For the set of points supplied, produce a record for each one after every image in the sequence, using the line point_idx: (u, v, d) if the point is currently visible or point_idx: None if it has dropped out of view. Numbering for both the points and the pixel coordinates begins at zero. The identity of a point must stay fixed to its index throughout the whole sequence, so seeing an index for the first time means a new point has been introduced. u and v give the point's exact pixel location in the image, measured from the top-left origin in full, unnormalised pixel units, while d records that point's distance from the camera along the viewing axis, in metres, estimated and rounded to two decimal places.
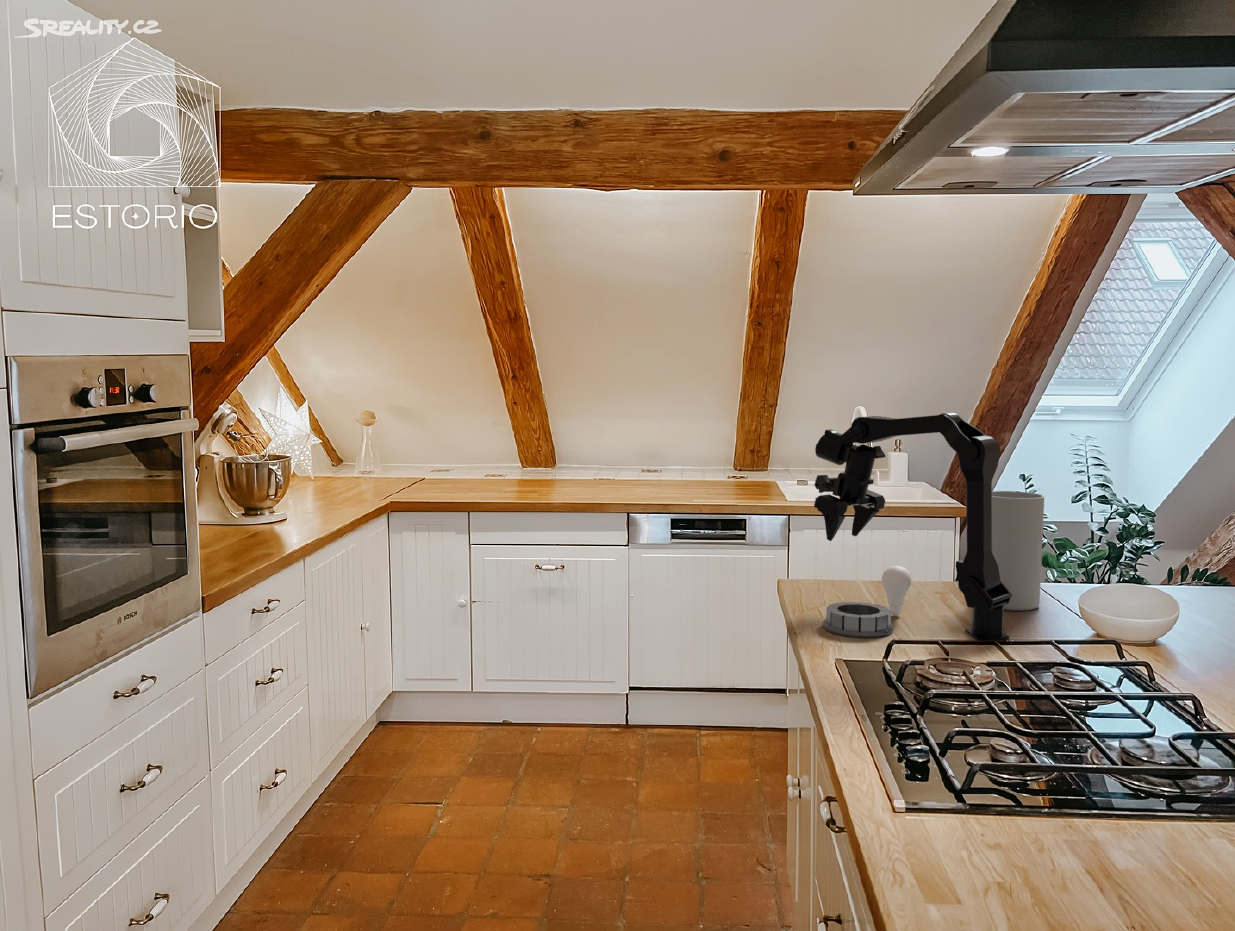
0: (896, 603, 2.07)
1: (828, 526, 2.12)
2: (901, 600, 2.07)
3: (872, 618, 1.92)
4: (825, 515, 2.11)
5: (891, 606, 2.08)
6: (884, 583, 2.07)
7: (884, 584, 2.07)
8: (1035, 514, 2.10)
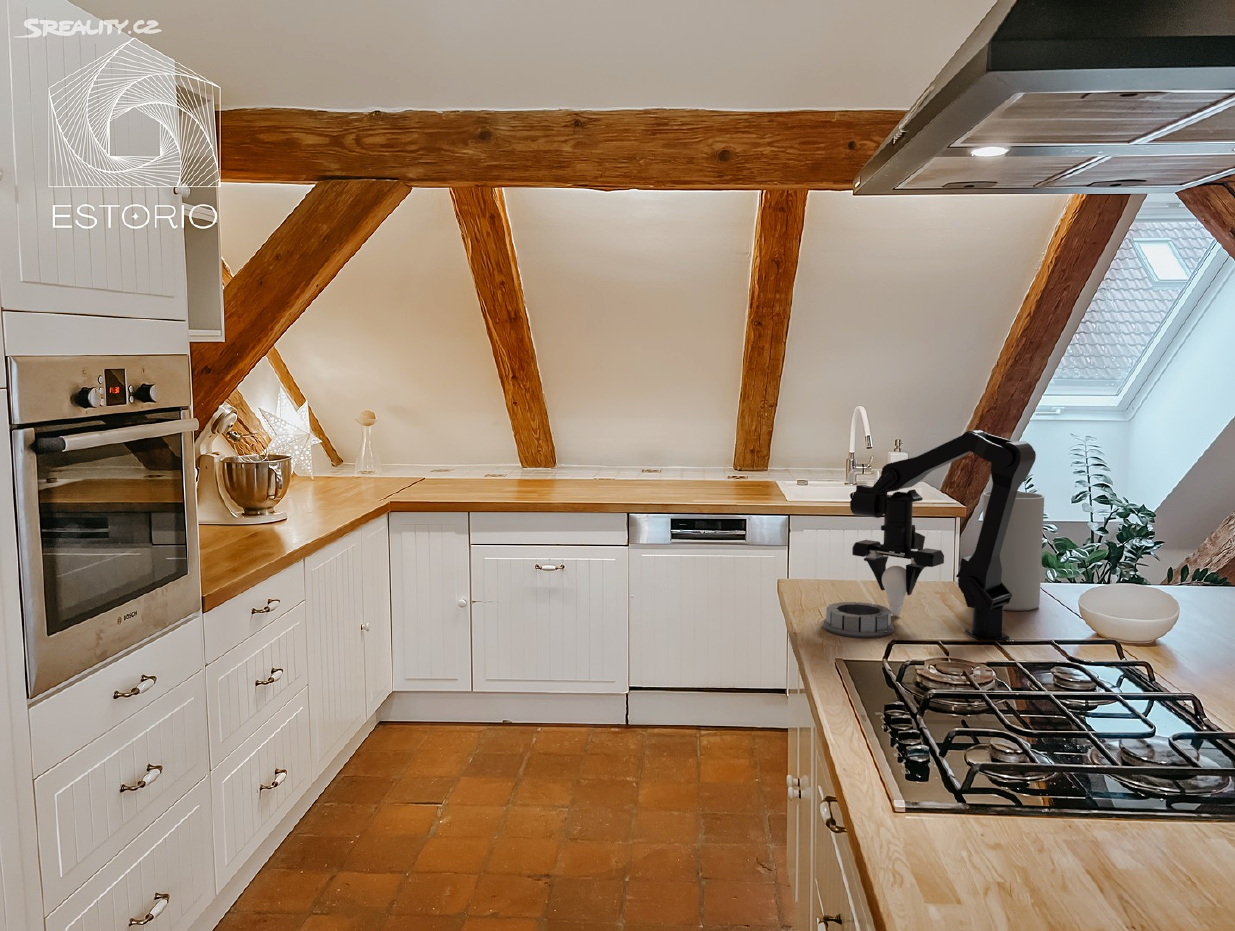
0: (896, 603, 2.07)
1: None
2: (901, 600, 2.07)
3: (872, 618, 1.92)
4: None
5: (891, 606, 2.08)
6: (884, 583, 2.07)
7: (884, 584, 2.07)
8: (1035, 514, 2.10)
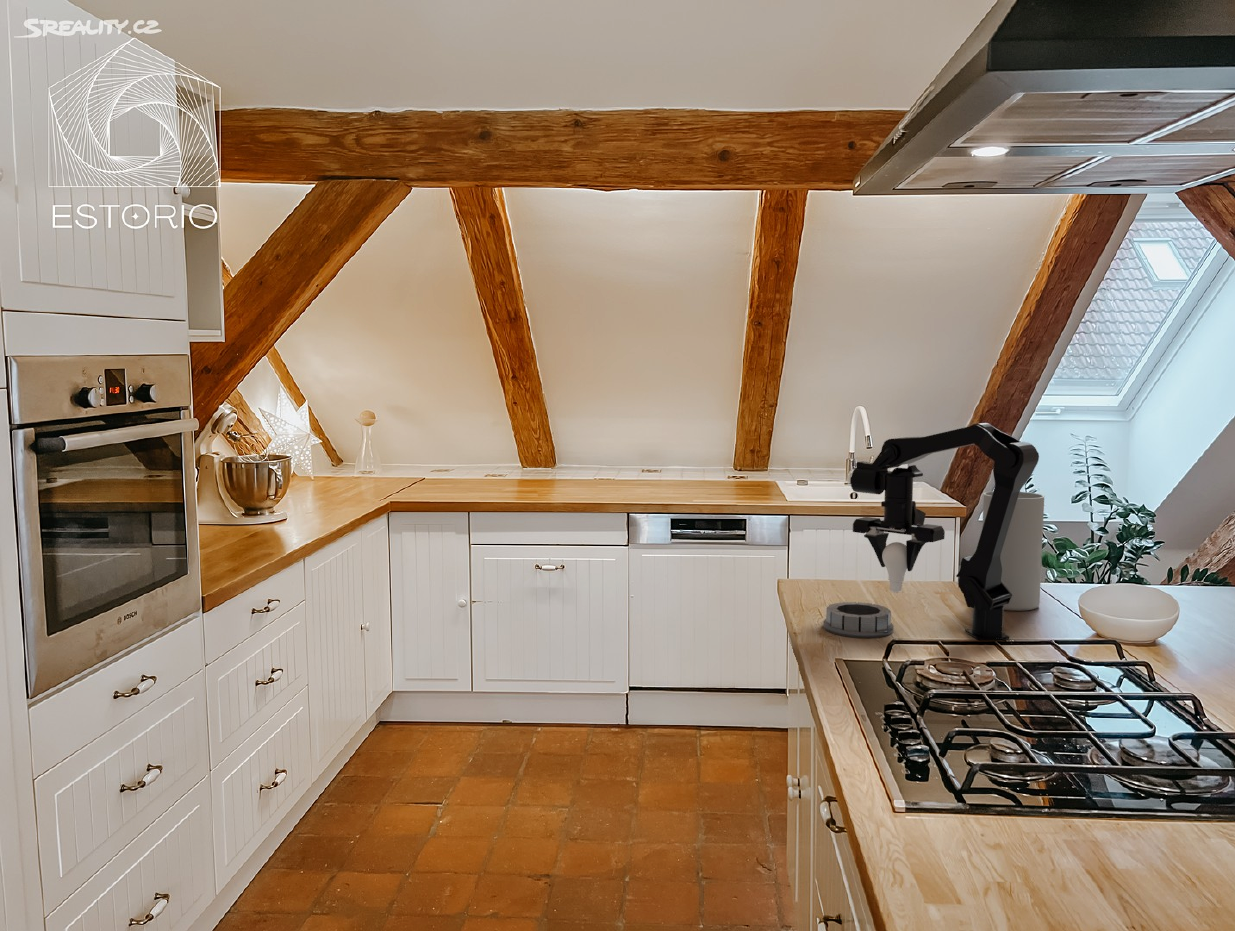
0: (896, 579, 2.06)
1: None
2: (901, 576, 2.06)
3: (872, 618, 1.92)
4: None
5: (891, 582, 2.07)
6: (884, 559, 2.06)
7: (884, 560, 2.06)
8: (1035, 514, 2.10)
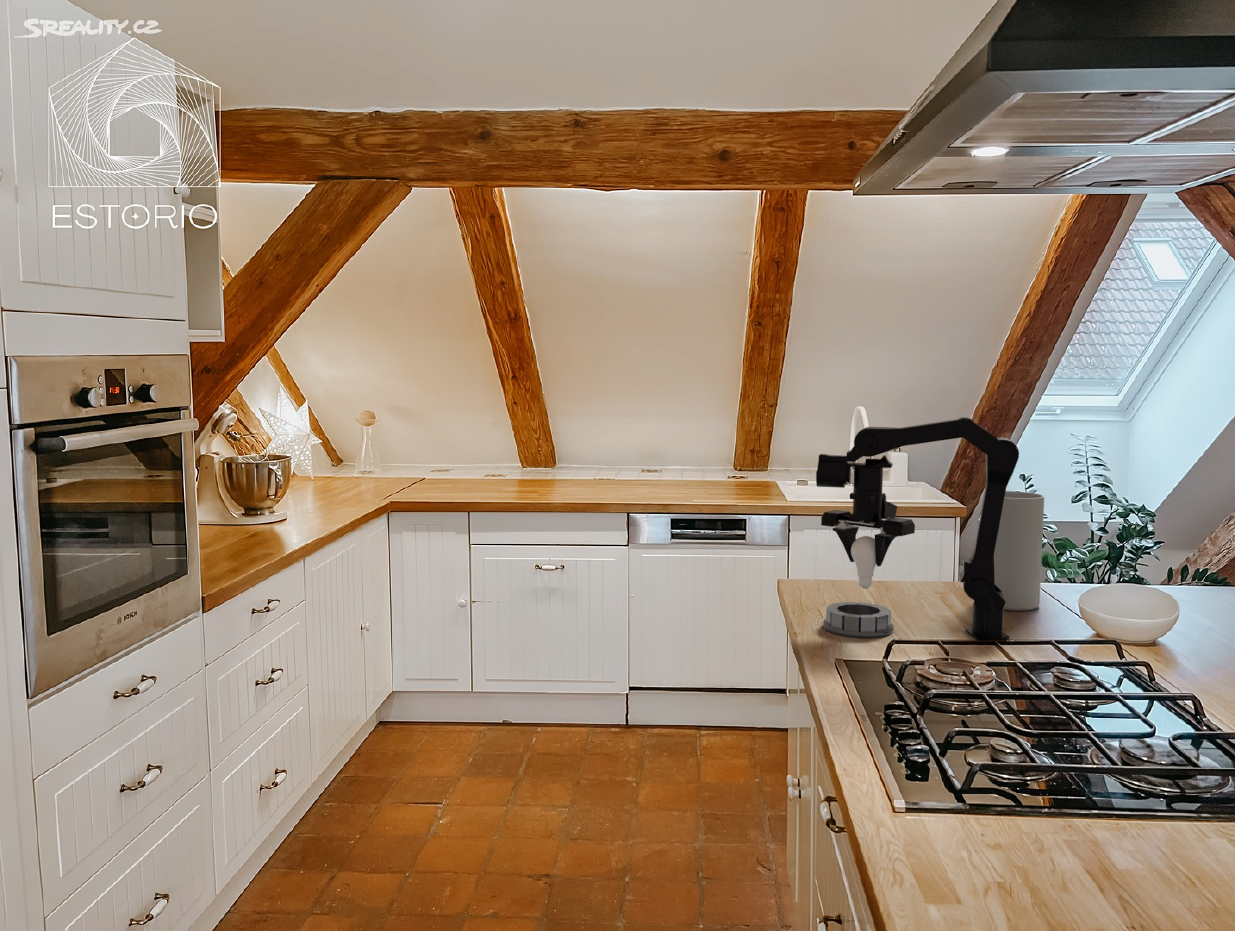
0: (865, 575, 1.98)
1: None
2: (871, 572, 1.98)
3: (872, 618, 1.92)
4: None
5: (860, 578, 1.99)
6: (853, 554, 1.98)
7: (853, 555, 1.98)
8: (1035, 514, 2.10)
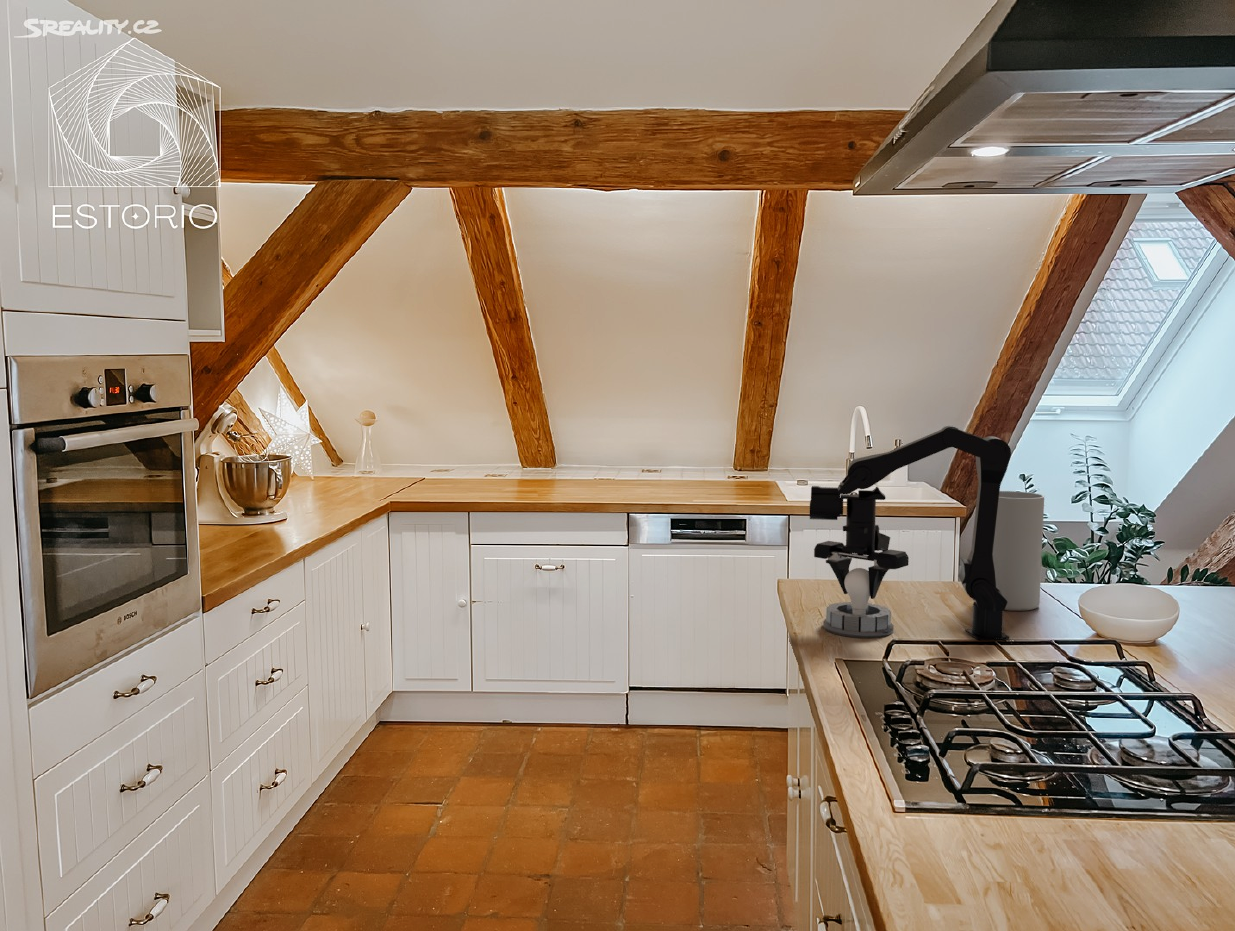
0: (859, 607, 1.97)
1: None
2: (864, 604, 1.97)
3: (872, 618, 1.92)
4: None
5: (854, 610, 1.98)
6: (847, 586, 1.97)
7: (847, 587, 1.97)
8: (1035, 514, 2.10)
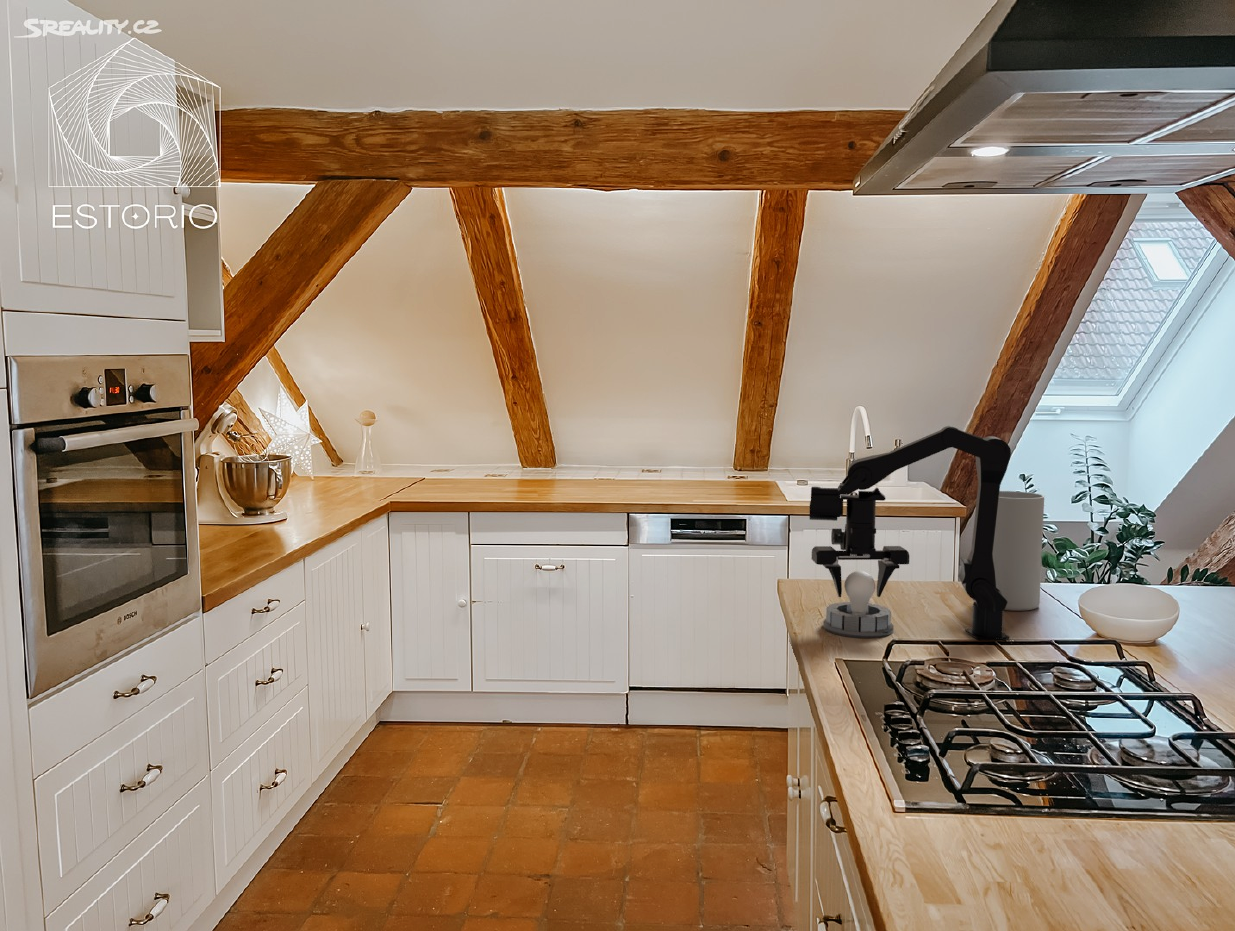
0: (864, 610, 1.97)
1: (833, 580, 1.98)
2: None
3: (872, 618, 1.92)
4: (829, 568, 1.99)
5: (859, 614, 1.97)
6: (856, 591, 1.95)
7: (856, 592, 1.95)
8: (1035, 514, 2.10)
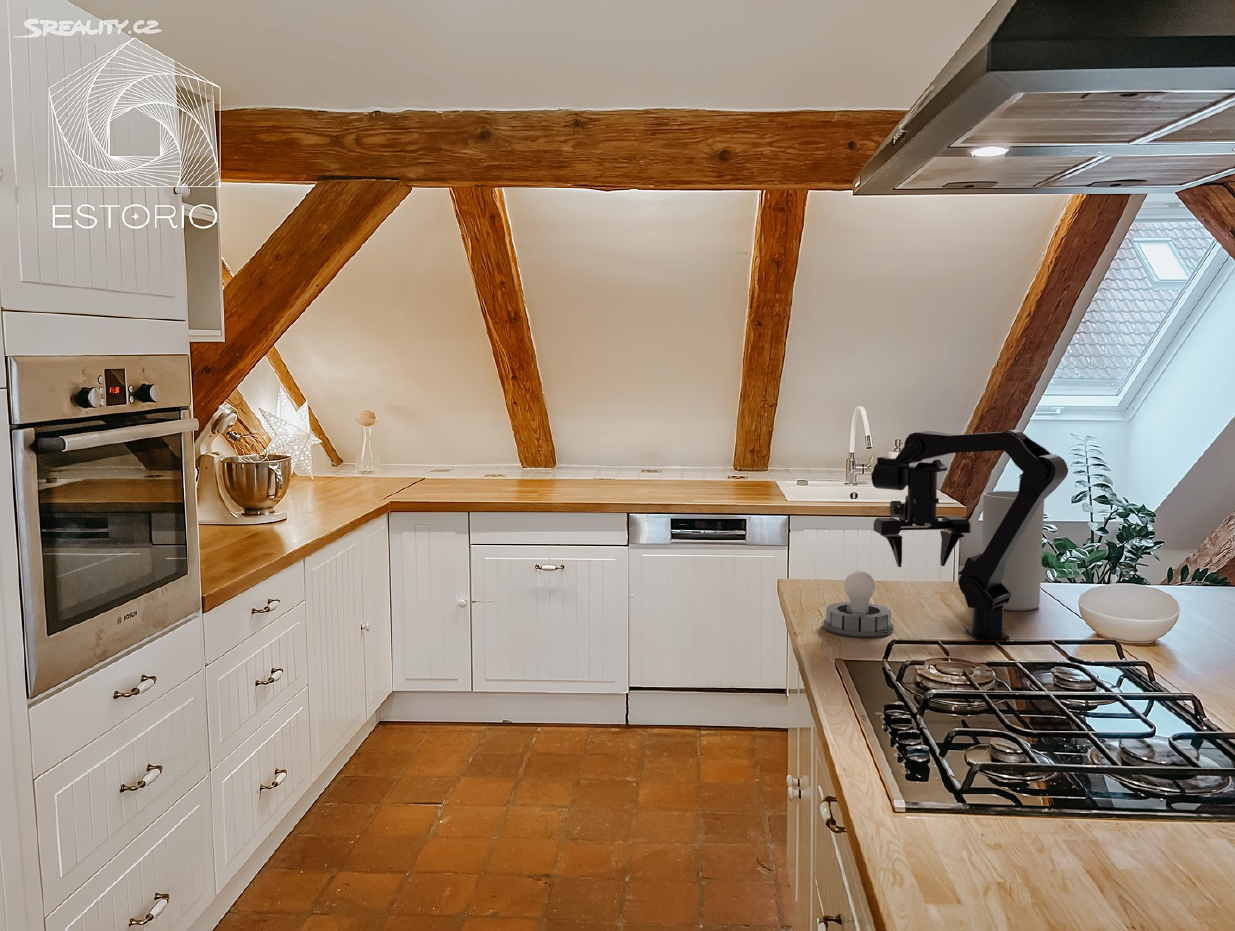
0: (864, 610, 1.97)
1: (893, 551, 2.02)
2: None
3: (872, 618, 1.92)
4: (888, 539, 2.03)
5: (859, 614, 1.97)
6: (856, 591, 1.95)
7: (855, 592, 1.95)
8: (1035, 514, 2.10)
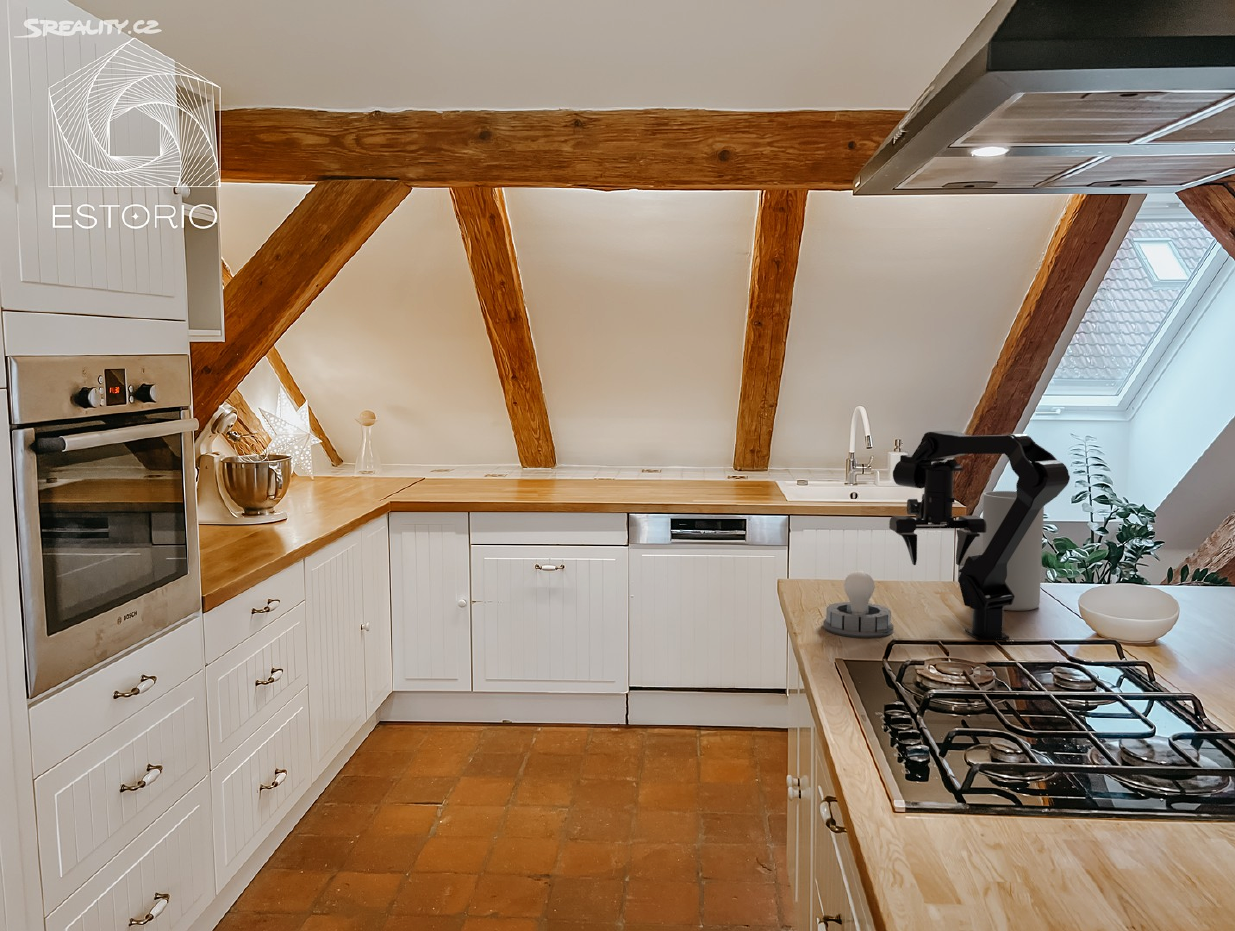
0: (864, 610, 1.97)
1: (908, 549, 2.04)
2: None
3: (872, 618, 1.92)
4: (904, 537, 2.04)
5: (859, 614, 1.97)
6: (855, 591, 1.95)
7: (855, 592, 1.95)
8: None
